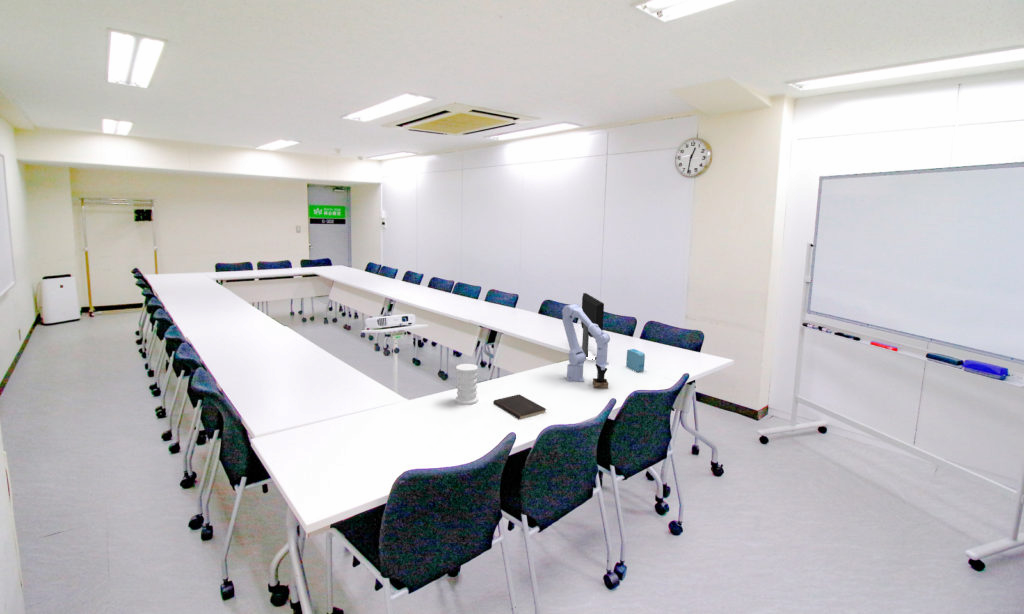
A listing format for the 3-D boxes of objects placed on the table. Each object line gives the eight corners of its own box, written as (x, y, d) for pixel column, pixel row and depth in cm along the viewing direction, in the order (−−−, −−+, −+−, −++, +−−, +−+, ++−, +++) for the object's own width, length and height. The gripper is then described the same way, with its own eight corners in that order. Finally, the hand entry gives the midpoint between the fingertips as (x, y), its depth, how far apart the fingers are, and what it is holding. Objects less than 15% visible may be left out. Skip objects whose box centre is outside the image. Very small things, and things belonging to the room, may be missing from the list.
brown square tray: (594, 387, 273) (594, 382, 272) (592, 383, 280) (592, 378, 279) (607, 388, 272) (608, 383, 272) (606, 383, 280) (606, 378, 279)
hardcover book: (519, 398, 257) (519, 394, 256) (546, 413, 238) (546, 408, 238) (493, 404, 248) (493, 400, 247) (519, 420, 229) (519, 416, 229)
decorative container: (478, 396, 257) (479, 363, 253) (477, 405, 245) (477, 370, 242) (456, 396, 257) (456, 363, 253) (454, 404, 245) (454, 370, 242)
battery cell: (597, 382, 274) (598, 370, 272) (596, 380, 278) (597, 368, 276) (604, 382, 274) (605, 371, 272) (603, 380, 278) (604, 368, 276)
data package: (643, 372, 302) (645, 353, 300) (637, 372, 300) (639, 354, 298) (631, 366, 313) (632, 348, 310) (625, 367, 311) (627, 349, 309)
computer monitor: (604, 364, 315) (607, 303, 308) (591, 364, 314) (594, 303, 307) (586, 347, 355) (588, 292, 348) (574, 347, 354) (577, 293, 347)
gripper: (611, 359, 265) (609, 383, 268) (607, 351, 280) (606, 374, 282) (598, 358, 266) (596, 382, 268) (594, 351, 280) (593, 374, 283)
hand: (600, 378), depth 275 cm, fingers closed on battery cell, 4 cm apart
